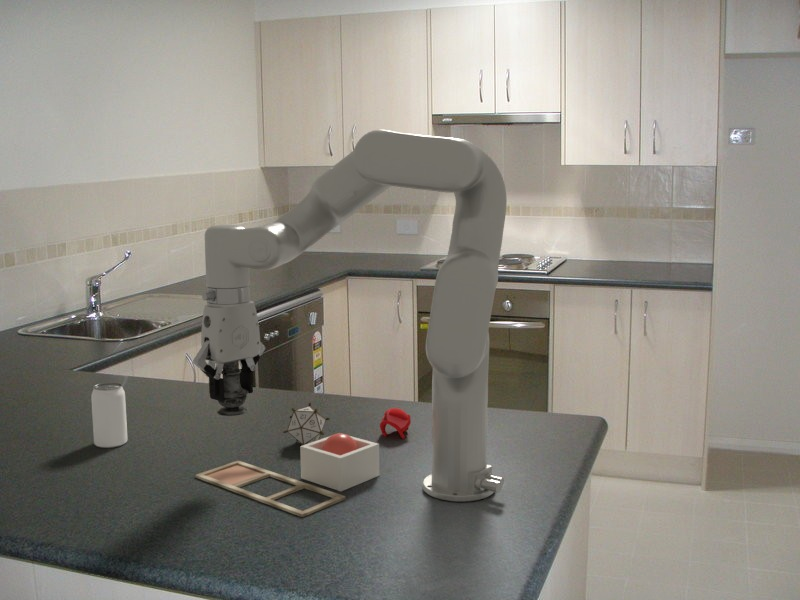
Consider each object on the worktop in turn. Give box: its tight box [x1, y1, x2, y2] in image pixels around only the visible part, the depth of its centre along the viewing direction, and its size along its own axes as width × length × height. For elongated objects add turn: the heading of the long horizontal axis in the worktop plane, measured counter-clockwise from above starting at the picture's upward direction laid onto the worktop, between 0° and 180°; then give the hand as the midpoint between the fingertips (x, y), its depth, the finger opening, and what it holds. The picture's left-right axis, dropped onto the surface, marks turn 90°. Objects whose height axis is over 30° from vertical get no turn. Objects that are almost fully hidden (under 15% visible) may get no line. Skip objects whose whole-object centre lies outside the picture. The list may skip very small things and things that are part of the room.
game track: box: [194, 460, 347, 518], centre depth 156 cm, size 28×10×1 cm, turn 50°
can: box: [90, 381, 128, 449], centre depth 179 cm, size 6×6×12 cm
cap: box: [379, 407, 411, 440], centre depth 184 cm, size 8×6×6 cm
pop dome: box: [322, 432, 358, 456], centre depth 160 cm, size 6×6×6 cm
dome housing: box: [299, 435, 380, 492], centre depth 160 cm, size 10×10×6 cm
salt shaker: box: [216, 361, 249, 417], centre depth 158 cm, size 6×6×12 cm
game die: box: [282, 402, 331, 446], centre depth 179 cm, size 9×8×10 cm
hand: (231, 394), depth 159 cm, fingers closed on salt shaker, 5 cm apart
